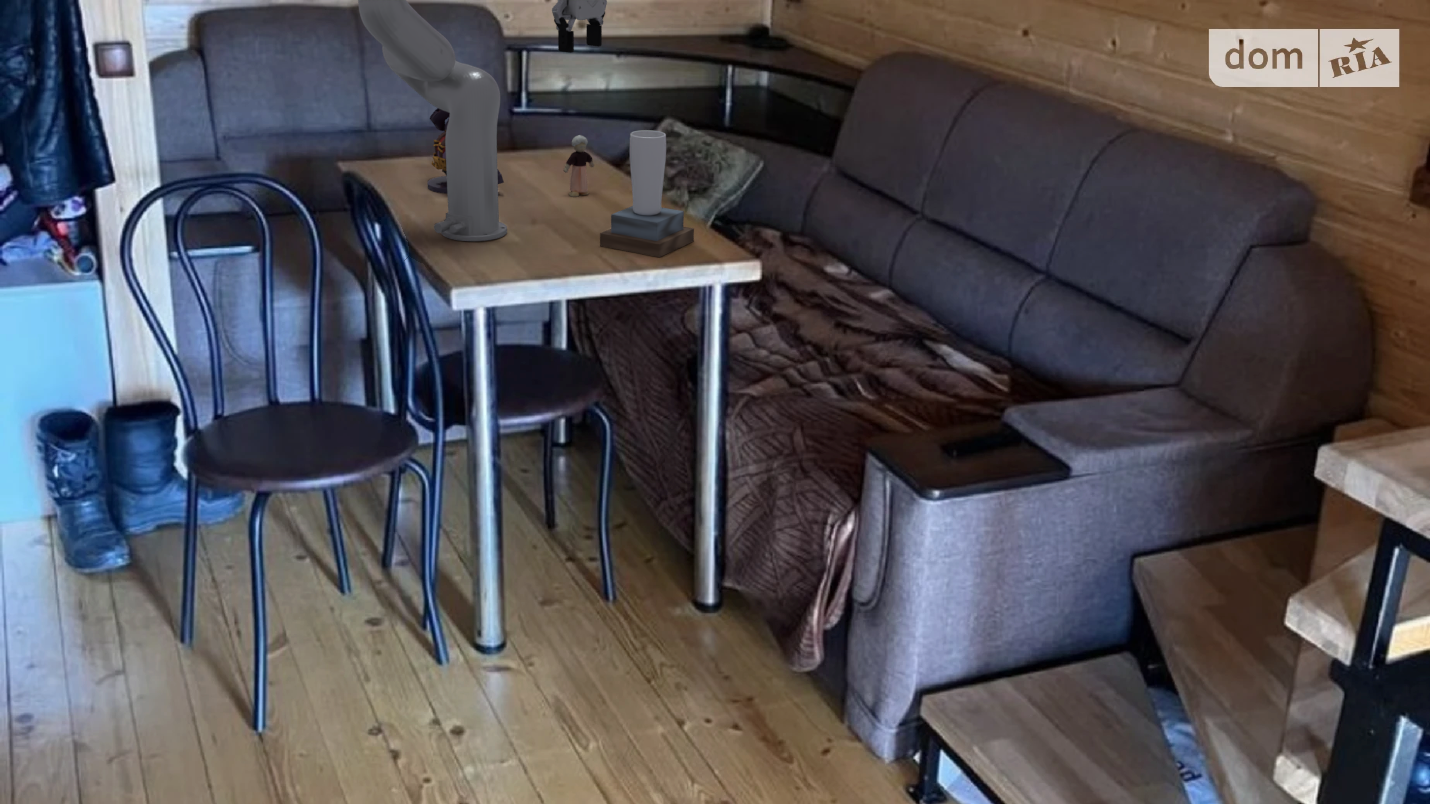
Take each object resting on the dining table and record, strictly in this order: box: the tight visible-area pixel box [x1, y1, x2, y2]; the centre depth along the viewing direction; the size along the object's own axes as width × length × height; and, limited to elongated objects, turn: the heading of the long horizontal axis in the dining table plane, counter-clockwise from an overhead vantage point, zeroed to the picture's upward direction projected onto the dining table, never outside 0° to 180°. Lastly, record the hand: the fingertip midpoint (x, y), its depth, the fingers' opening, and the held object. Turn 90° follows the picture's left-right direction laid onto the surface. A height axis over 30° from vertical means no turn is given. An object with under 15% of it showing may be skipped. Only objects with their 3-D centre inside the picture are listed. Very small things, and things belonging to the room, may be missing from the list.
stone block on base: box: [599, 205, 695, 258], centre depth 273 cm, size 13×13×6 cm
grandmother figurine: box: [563, 134, 595, 198], centre depth 304 cm, size 8×4×13 cm, turn 143°
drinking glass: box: [629, 129, 667, 216], centre depth 269 cm, size 7×7×15 cm
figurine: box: [427, 107, 505, 195], centre depth 306 cm, size 20×14×17 cm
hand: (580, 48), depth 277 cm, fingers open, 9 cm apart
